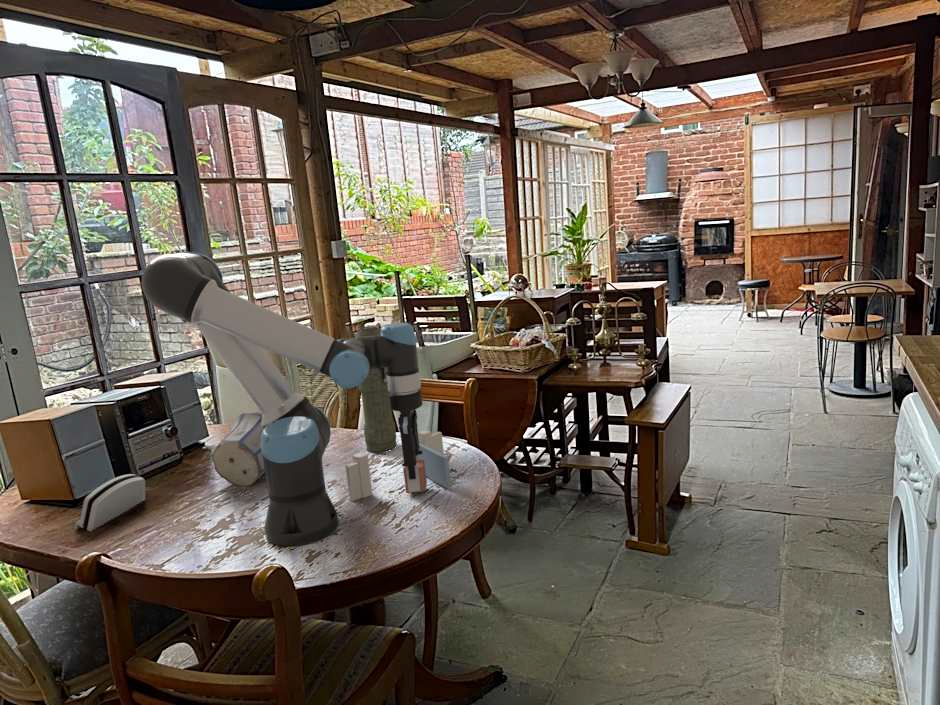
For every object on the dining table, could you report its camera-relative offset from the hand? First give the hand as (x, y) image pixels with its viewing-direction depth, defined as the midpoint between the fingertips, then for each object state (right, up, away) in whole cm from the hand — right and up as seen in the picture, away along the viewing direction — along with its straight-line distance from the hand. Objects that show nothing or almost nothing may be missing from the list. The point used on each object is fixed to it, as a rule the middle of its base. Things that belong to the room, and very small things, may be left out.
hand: (415, 486), depth 156 cm
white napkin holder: (-71, -8, +2) cm, 72 cm away
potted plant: (-42, 0, +25) cm, 49 cm away
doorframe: (-5, 0, +8) cm, 9 cm away
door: (+4, +1, +6) cm, 7 cm away
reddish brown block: (0, 0, 0) cm, 1 cm away
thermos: (-12, +4, +34) cm, 36 cm away
